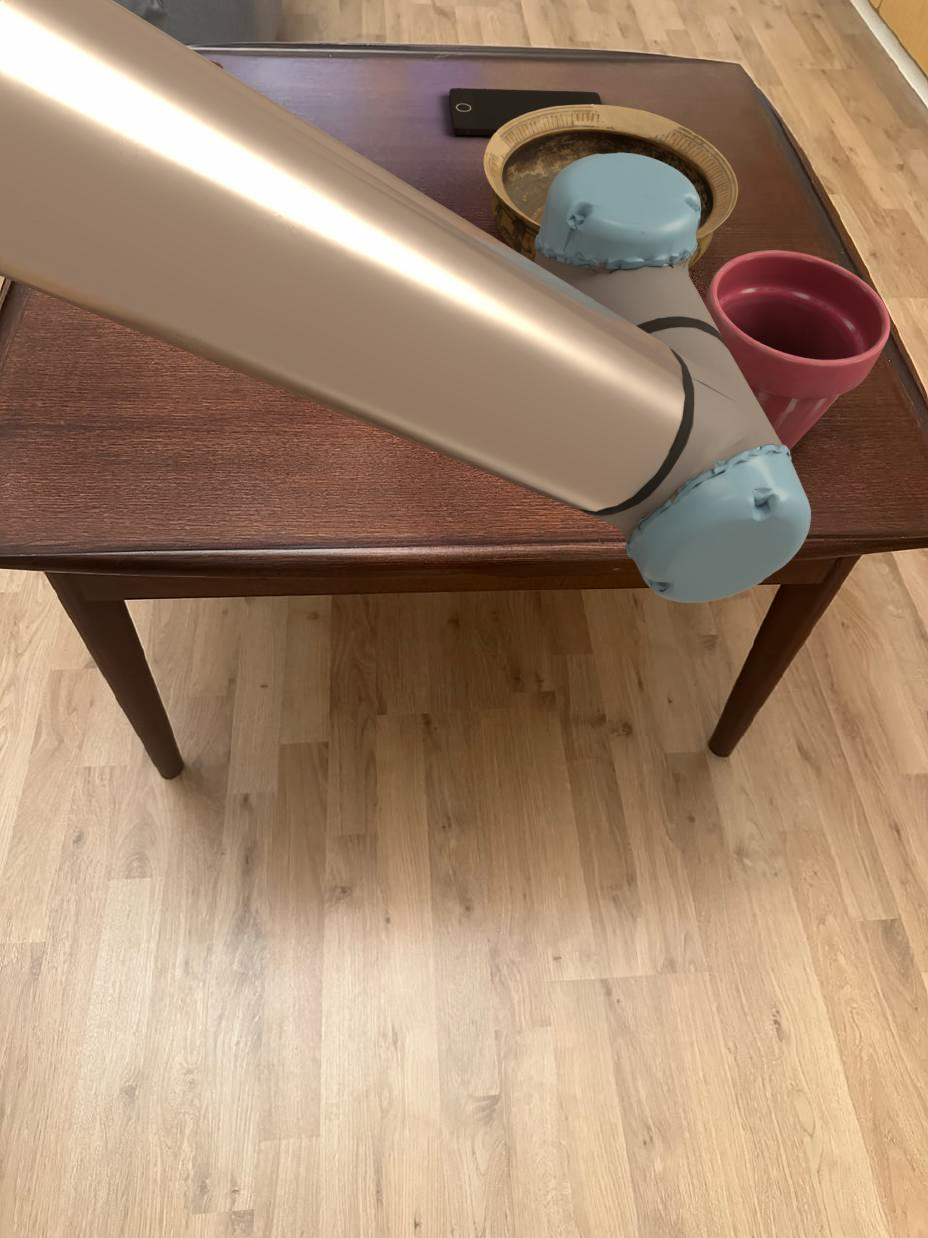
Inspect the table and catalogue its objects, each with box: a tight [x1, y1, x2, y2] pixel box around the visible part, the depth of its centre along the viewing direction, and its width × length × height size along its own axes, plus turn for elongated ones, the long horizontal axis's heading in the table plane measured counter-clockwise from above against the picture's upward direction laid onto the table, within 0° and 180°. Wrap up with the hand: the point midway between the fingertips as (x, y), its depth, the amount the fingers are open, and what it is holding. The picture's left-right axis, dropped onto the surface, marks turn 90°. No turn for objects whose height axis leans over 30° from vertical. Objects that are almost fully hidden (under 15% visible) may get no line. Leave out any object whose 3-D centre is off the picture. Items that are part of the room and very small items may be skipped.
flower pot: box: [703, 249, 891, 451], centre depth 79 cm, size 14×14×13 cm
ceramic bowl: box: [482, 104, 739, 269], centre depth 92 cm, size 30×24×10 cm
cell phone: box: [448, 87, 603, 137], centre depth 110 cm, size 9×18×1 cm, turn 94°
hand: (239, 183), depth 69 cm, fingers closed on beverage can, 6 cm apart
